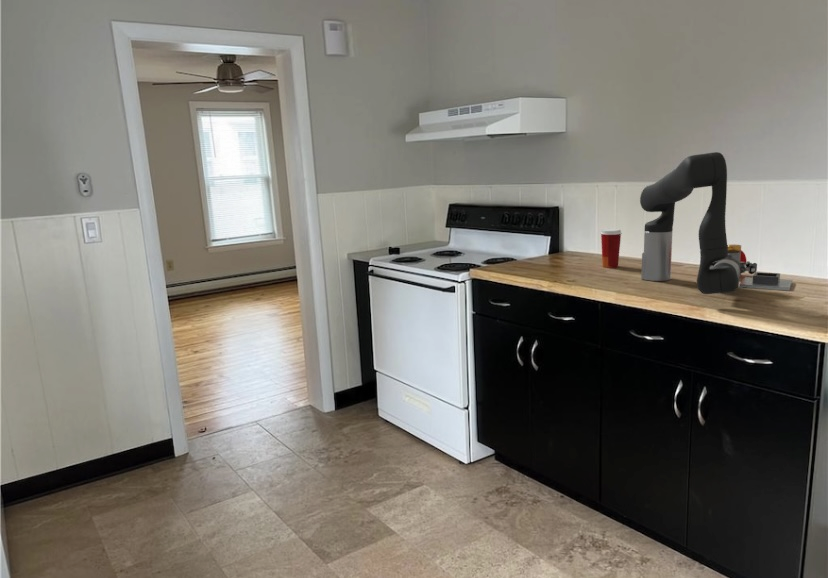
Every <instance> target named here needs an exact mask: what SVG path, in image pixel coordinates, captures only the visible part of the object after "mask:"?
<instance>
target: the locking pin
mask: <svg viewBox="0 0 828 578" xmlns="http://www.w3.org/2000/svg"><path fill="white" fill-rule="evenodd" d="M727 247H728V256H727V257H726V258H733V259H735V260H737V261H738V262H740V256H741V250H742V244H741V245H740V244H727ZM739 284H740V277H739V278H738V287H737V288H738V289H739V288H740V287H739Z"/></svg>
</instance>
